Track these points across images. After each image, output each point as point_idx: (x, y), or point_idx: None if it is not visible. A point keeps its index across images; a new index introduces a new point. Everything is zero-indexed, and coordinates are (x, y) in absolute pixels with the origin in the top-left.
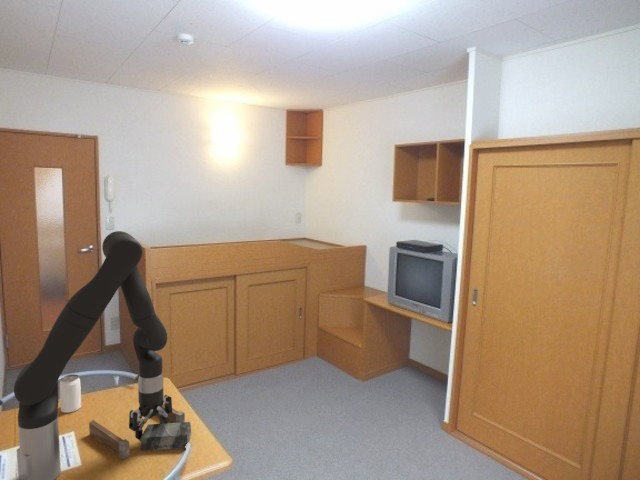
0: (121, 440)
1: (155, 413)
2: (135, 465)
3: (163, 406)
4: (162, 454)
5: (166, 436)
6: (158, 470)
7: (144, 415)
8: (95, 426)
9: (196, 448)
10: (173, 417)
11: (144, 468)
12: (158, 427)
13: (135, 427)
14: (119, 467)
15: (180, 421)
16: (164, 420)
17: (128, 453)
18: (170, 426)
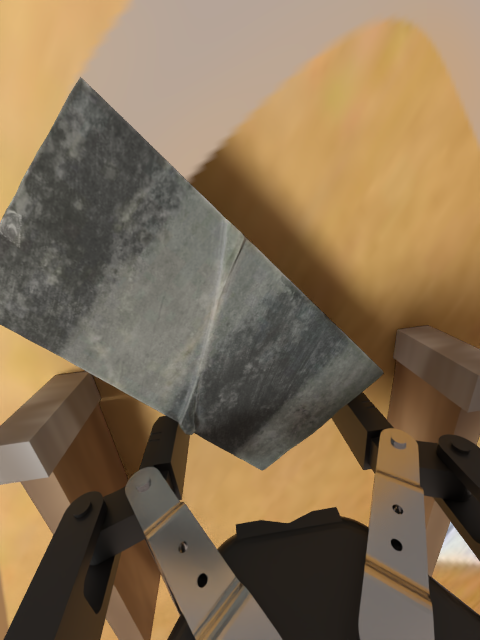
0: (466, 417)
1: (266, 553)
2: (430, 239)
3: None
4: (286, 218)
5: (260, 251)
6: (399, 71)
7: (437, 583)
8: (434, 566)
9: (74, 80)
10: (84, 459)
11: (426, 172)
12: (236, 405)
13: (471, 462)
14: (474, 283)
15: (58, 401)
16: (168, 446)
17: (415, 336)
18: (160, 361)
